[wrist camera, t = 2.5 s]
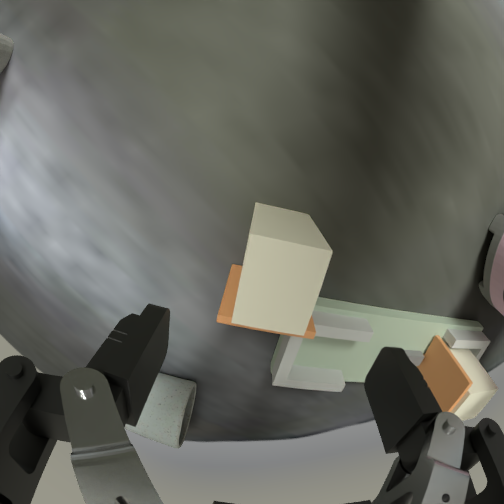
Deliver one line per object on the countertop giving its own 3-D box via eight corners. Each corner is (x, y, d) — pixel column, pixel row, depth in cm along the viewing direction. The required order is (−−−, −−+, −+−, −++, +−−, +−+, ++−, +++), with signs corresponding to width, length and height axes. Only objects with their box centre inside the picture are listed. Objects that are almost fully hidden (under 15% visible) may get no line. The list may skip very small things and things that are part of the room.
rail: (293, 292, 23) (307, 375, 14) (477, 320, 23) (520, 370, 14) (270, 362, 25) (270, 445, 16) (445, 373, 26) (476, 426, 17)
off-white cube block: (244, 200, 20) (232, 229, 13) (318, 216, 20) (348, 254, 13) (231, 268, 22) (215, 327, 15) (300, 281, 22) (314, 344, 15)
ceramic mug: (124, 347, 26) (94, 399, 19) (198, 367, 26) (181, 427, 19) (134, 404, 30) (114, 449, 23) (194, 420, 30) (182, 469, 23)
